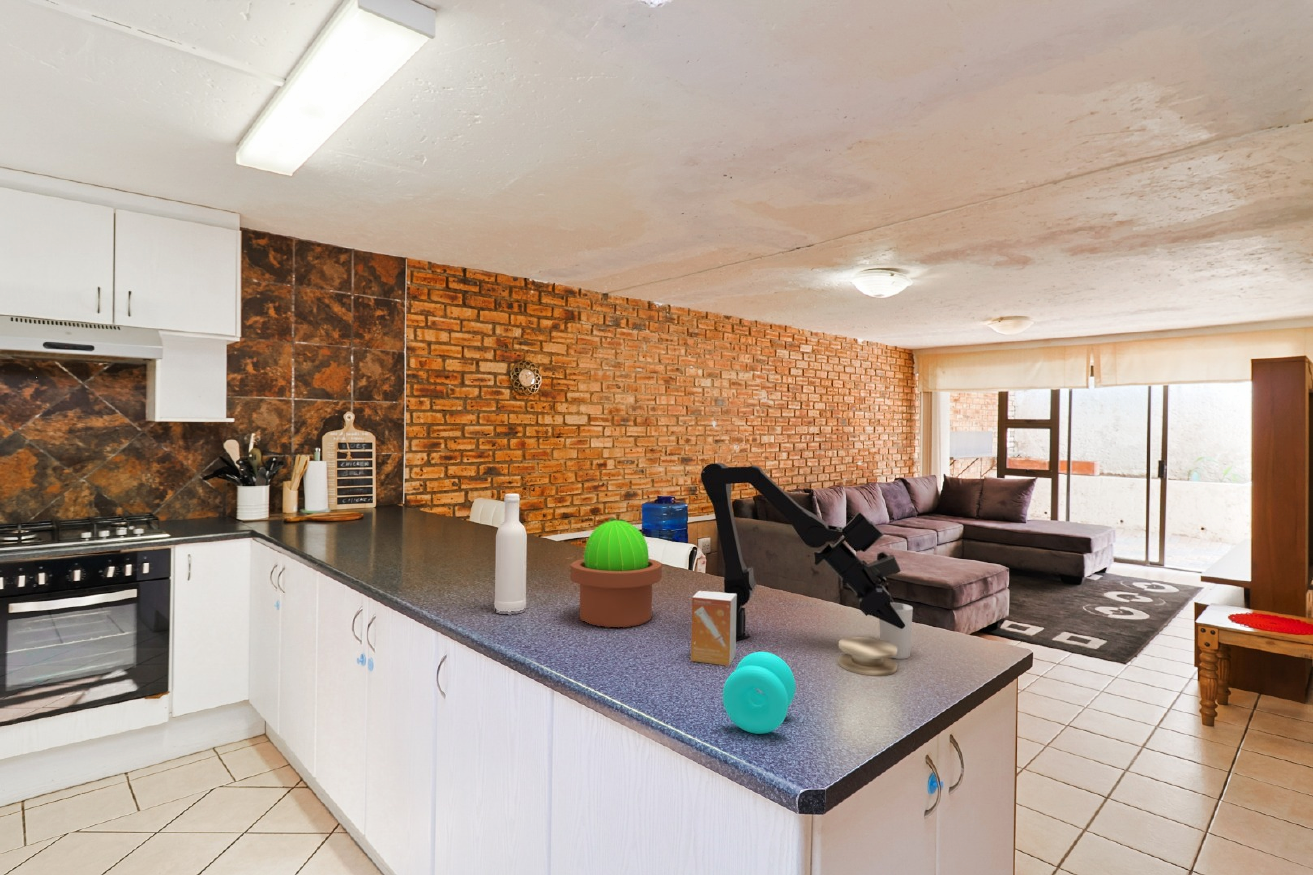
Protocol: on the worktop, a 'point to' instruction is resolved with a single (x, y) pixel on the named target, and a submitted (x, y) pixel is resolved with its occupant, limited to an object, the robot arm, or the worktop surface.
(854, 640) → the birch stand
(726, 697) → the turquoise yoyo
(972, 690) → the worktop surface
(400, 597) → the worktop surface
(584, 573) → the potted cactus
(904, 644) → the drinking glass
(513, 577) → the bottle
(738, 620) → the robot arm
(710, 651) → the small box
